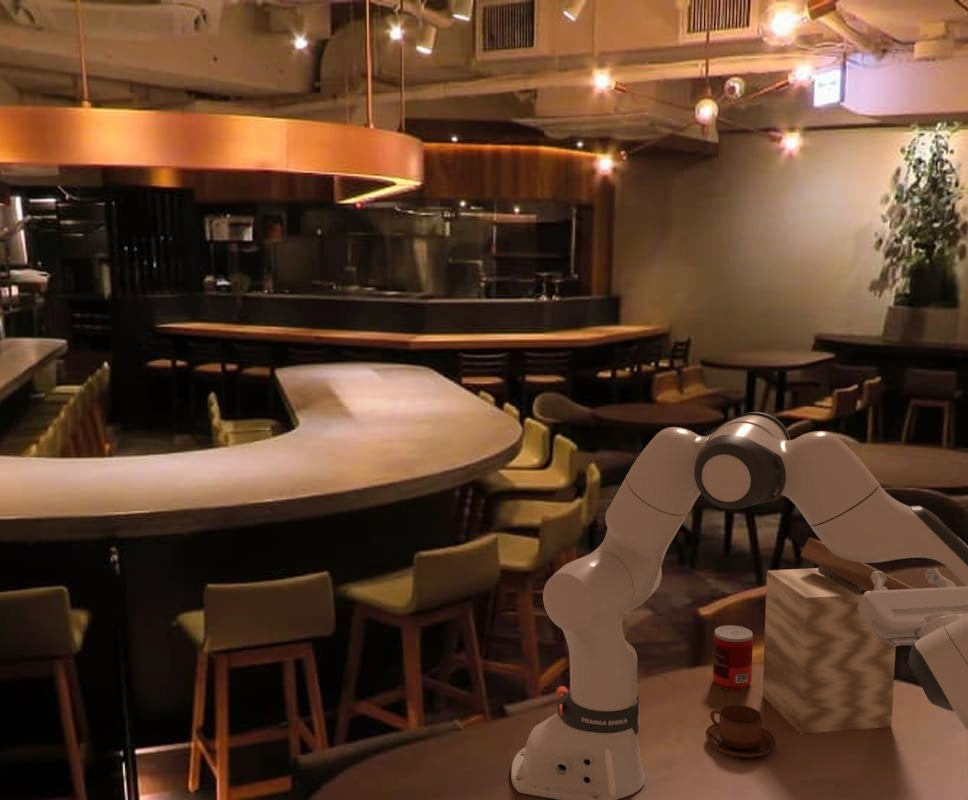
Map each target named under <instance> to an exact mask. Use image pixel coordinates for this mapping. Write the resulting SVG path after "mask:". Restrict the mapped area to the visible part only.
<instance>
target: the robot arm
mask: <svg viewBox="0 0 968 800" xmlns="http://www.w3.org/2000/svg"><path fill="white" fill-rule="evenodd" d="M700 495H702V496H703V497H704V499H705V500H706V501H708V503H711V504H712V505H714V506H716V507H720V508H721V509H722V508H723V509H729V510H730V509H731V510H732V509H733V510H734V509H736V510H737V509H744V508H748V507H751V506H755V505H759V504H765V503H770V502H774V501H776V500H778V499H779V498H780V496H781V495H782V496H784V497H786V498H788V499H789V500H790V501H791V502H792V503H793V504H794V505H795V507H796V508H797V509H798V510H799V512H800V513H801V515H802V516H803V518H804V519H805V520H806V522H807V524H808V525H809V527H810V528H811V530H812V531H813V532H814V533H815V535H816V536H817V537H818V538H819V541H821V542H823V543H824V545H825V546H826V547H827V548H828V549H829V550H830V551H831V552H832V553H833V554H835V555H837V556H838V557H841V558H843V559H846V560H849V561H853V562H861V563H865V564H872V563H873V564H875V563H877V564H878V563H883V562H890V561H896V560H902V559H911V558H912V559H915V558H922V559H924V558H925V559H931V560H933V561H937V562H938V563H941V564H943V565H944V566H945V567H946V568H948V569H949V571H951V572H952V573H953V574H954V575H955V576H956V577H957V578H958V580H960V581H961V582H962V583H963V584H964V586H957V585H956V584H955V582H954V581H952V580H950V579H949V578H947V577H945V576H944V575H942V574H941V572H940V571H939V570H938V568H928V569H926V572H925V574H924V577H925V578H926V580H927V582H928V584H934V585H936V586H937V587H929V588H928V587H927V588H926V587H925V588H915V589H902V590H888V589H887V588H886V587H885V586H883V585H884V584H885V581H886V579H887V577H886V576H885V575H884V573H885V572H884V571H882V570H879V571H874V572H873V573H872V575H871V580H872V582H873V584H874V585H875V586H874V591H866V592H865V593H864V594H863V596H862V598H861V600H860V602H859V605H858V610H859V612H860V614H861V616H862V617H863V619H864V620H865V622H866V623H867V624H868V626H869V627H870V628H871V629H872V631H873V632H874V633H875V635H876V637H877V638H878V639H879V640H880V641H883V642H885V643H889V644H890V645H891V646H896V647H899V646H911V647H910V651H909V656H908V662H907V663H908V667H909V669H911V671H912V672H913V674H914V675H915V676H916V678H917V680H918V682H919V684H920V686H921V688H922V690H923V692H924V694H925V696H926V697H927V699H928V701H929V702H930V703H931V704H932V705H934V706H937V707H940V708H942V709H944V710H947V711H949V712H954V713H953V714H955V715H956V717H957V719H958V720H959V721H960V723H961V725H962V726H963V727H964V729H966V731H967V732H968V545H967V543H966V542H964V541H963V540H962V539H961V538H960V536H958V535H957V534H956V532H954V531H953V530H952V529H951V528H950V527H949V526H948V525H947V524H945V522H943V520H941V519H940V518H939V517H938V516H937V515H936V514H934V513H933V512H932V511H930V510H928V509H927V508H925V507H923V506H922V505H911V506H909V505H907V504H904V503H902V502H900V501H898V500H897V499H895V498H894V497H892V496H891V495H890V494H889V493H887V492H886V490H885V489H884V488H883V487H882V486H881V484H880V483H879V482H878V480H877V479H876V477H875V476H874V475H873V473H871V471H870V469H868V467H867V466H866V465H865V463H864V462H863V461H862V460H861V458H859V457H858V456H857V454H855V453H854V452H853V450H851V448H849V446H848V445H847V444H846V443H844V442H843V440H841V439H840V438H839V437H838V436H837V435H835V434H834V433H832V432H829V431H825V430H824V431H823V430H820V431H819V430H817V431H811V432H807V433H804V434H801V435H800V436H798V437H796V438H795V439H791V437H790V434H789V432H788V430H787V428H786V426H785V424H783V423H782V422H781V421H780V420H779V419H778V418H777V417H775V416H773V415H772V414H769V413H765V412H761V411H754V412H753V411H751V412H745V413H742V414H739V415H736V416H734V417H732V418H731V419H729V420H727V421H725V422H723V423H721V424H720V425H717V426H715V427H713V428H712V429H711V430H710V432H709V435H707V436H703V435H699V434H698V433H696V432H693V431H692V430H689V429H687V428H683V427H677V426H671V427H666V428H663V429H661V430H660V431H659V432H657V433H656V434H655V436H654V437H653V438H652V439H651V440H650V441H649V443H647V445H646V446H645V448H643V450H642V451H641V453H640V454H639V456H637V458H636V460H635V461H634V463H633V464H632V465H631V467H630V469H629V470H628V473H627V474H626V476H625V478H624V479H623V481H622V483H621V485H620V487H619V489H617V492H616V494H615V496H614V498H613V500H612V501H611V503H610V505H609V507H608V508H607V509H606V512H605V525H606V527H607V529H606V533H605V536H604V539H603V540H602V542H601V544H600V545H599V546H598V547H597V548H596V549H595V550H593V551H591V552H590V553H588V554H586V555H584V556H582V557H580V558H577V559H575V560H572V561H570V562H568V563H566V564H564V565H562V567H561V568H560V569H558V570H557V571H555V573H554V574H553V575H552V576H551V577H549V579H547V581H546V583H545V585H544V588H543V593H542V600H543V601H542V602H543V605H544V609H545V611H546V614H547V615H548V617H549V619H550V620H551V621H552V623H554V625H556V626H557V627H558V628H560V629H561V630H562V631H563V634H564V636H565V640H566V642H567V643H566V644H567V647H568V654H569V655H568V656H569V689H570V690H569V689H568V688H567V687H566V686H564V685H563V686H562V685H560V686H558V687H557V688H556V692H555V693H556V695H555V697H556V699H557V712H556V713H555V714H553V715H552V716H550V717H548V718H547V719H545V720H543V721H542V722H540V723H537V725H535V726H534V728H533V729H532V730H531V732H530V733H529V736H528V738H527V741H526V744H525V747H523V748H521V749H520V750H519V751H518V752H517V753H516V755H515V756H514V758H513V760H512V764H511V773H510V780H511V783H512V786H513V788H514V789H515V790H516V791H517V792H518V793H520V794H524V795H531V796H536V797H541V798H542V797H543V798H547V799H548V798H549V799H554V800H619V799H623V798H626V797H628V796H632V795H634V794H635V793H637V792H639V791H640V790H641V789H642V788H643V786H644V785H645V783H646V775H645V771H644V767H643V763H642V759H641V752H640V746H639V738H638V737H639V736H638V733H639V728H640V725H641V724H640V721H641V720H640V719H641V704H640V701H639V696H638V694H637V692H638V691H637V690H638V689H637V688H638V687H637V686H638V655H637V652H636V649H635V648H634V646H632V644H630V643H629V642H628V641H626V639H625V635H624V631H623V617H624V615H625V614H626V613H628V612H629V611H631V610H634V609H635V608H637V607H638V606H639V607H640V606H641V605H642V604H644V603H645V602H647V600H648V599H649V598H650V597H651V596H653V593H655V591H656V590H657V589H658V588H659V586H660V584H661V582H662V577H663V575H662V574H663V571H662V569H663V568H662V564H663V561H664V559H665V555H666V552H667V551H668V549H669V547H670V544H671V543H672V541H673V540H674V539H675V536H676V535H677V533H678V532H679V529H680V528H681V526H682V525H683V523H684V522H685V520H686V518H687V516H688V515H689V513H690V511H691V510H692V507H694V504H695V503H696V501H697V500H698V498H699V497H700ZM882 586H883V587H882ZM568 690H569V691H568Z"/></svg>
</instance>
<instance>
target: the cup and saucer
mask: <svg viewBox="0 0 968 800" xmlns="http://www.w3.org/2000/svg"><path fill="white" fill-rule="evenodd" d="M715 714H718V715H719V722H718V721H716V719H715ZM709 716H710V720H711V722H712V724H711V725H709V726H708V727H707V728H706V730H705V738H706V740H707V742H708V743H709V744H710V745H711V746H712V747H713V748H714V749H716V750H717V751H719V752H722V753H723V754H725V755H728V756H729V755H730V756H733V757H739V758H757V757H761V756H764V755H767V753H769V752H771V751H773V749H774V747H775V743H776V739H775V737H774V735H773V733H771V732H770V731H768V730H767V729H766V728H763V727H762V725H763V714H761V713H760V711H758V710H757V709H756V708H753V707H751V706H750V707H749V706H747V705H740V704H731V705H726V706H723V707H721V708H720V709H712V711H710V715H709Z"/></svg>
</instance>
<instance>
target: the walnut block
mask: <svg viewBox="0 0 968 800" xmlns="http://www.w3.org/2000/svg"><path fill="white" fill-rule="evenodd" d="M800 557H802V558H804V559H806V560H808V561H809V562H812V563H814V564H815V565H817V566H818V565H819V566H821V567H823V568H825V569H826V570H828V571H830V572H832V573H834V574H836V575H838V576H840V577H842V578H843V579H845V580H847V581H849V582H851V583H853V584H855V585H857V586H859V587H860V588H862V589H864V590H866V591H874V586H875V585H874V584H873V582H872V580H871V575H872V573H873V572H874V571H880V570H879V569H877V568H875V567H873V566H872V565H870V564H868V563H861V562H853V561H849V560H846V559H843V558H841V557H838V556H837V555H835V554H833V553H832V552H831V551H830V550H829V549H828V548H827V547H826V546H825V545H824V543H823V542H822V541H821V540H818V539H816V538H813V537H808V538H807V541H806V542H805V545H804V547H803V550H802V552H801V553H800ZM884 575H885V576H886V577H887V579H886V581H885V584H884V585H883V586H885V587H886V588H887V589H888V590H902V589H916V588H915V587H913V586H911V585H909V584H908V583H905V582H903V581H901V580H900V579H898V578H895V577H893V576H891V575H889V574H888V573H886V572H884ZM883 586H882V587H883Z"/></svg>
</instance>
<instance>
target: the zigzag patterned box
mask: <svg viewBox="0 0 968 800" xmlns="http://www.w3.org/2000/svg"><path fill="white" fill-rule="evenodd" d="M817 566H818V567H815V568H814V567H811V568H809V567H808V568H796V569H795V568H794V569H793V568H792V569H777V570H776V569H773V570H766V583H765V585H766V589H765V590H766V591H765V593H766V594H765V616H764V617H765V619H764V649H763V679H762V696H763V697H764V699H766V700H767V702H769V704H771V706H773V708H774V709H775V710H776V711H777V712H778V713H779V714H780V715H781V716H782V717H783V718H784V719H785V720H787V722H788V723H789V724H790V725H791V726H792V727H794V729H795V730H797V732H798V733H799V734H800V735H802V734H803V735H805V734H817V733H830V732H840V731H842V732H843V731H852V730H854V731H855V730H869V729H878V728H880V729H881V728H891V727H892V725H893V724H892V723H893V701H894V687H895V686H894V684H895V669H896V668H895V667H896V666H895V665H896V664H895V663H896V647H897V646H891V645H890V644H889V643H885V642H883V641H880V640H879V639H878V638H877V637H876V635H875V633H874V632H873V631H872V629H871V628H870V627H869V626H868V624H867V623H866V622H865V620H864V619H863V617H862V616H861V614H860V612H859V610H858V605H859V602H860V600H861V598H862V596H863V594H864V593H865V592H866V590H864V589H862V588H860V587H859V586H857V585H855V584H853V583H851V582H849V581H847V580H845V579H843V578H842V577H840V576H838V575H836V574H834V573H832V572H830V571H828V570H826V569H825V568H823V567H821V566H819V565H817Z"/></svg>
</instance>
